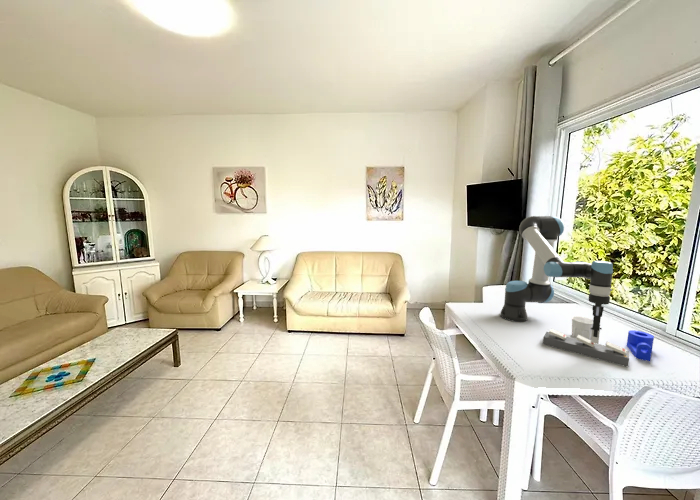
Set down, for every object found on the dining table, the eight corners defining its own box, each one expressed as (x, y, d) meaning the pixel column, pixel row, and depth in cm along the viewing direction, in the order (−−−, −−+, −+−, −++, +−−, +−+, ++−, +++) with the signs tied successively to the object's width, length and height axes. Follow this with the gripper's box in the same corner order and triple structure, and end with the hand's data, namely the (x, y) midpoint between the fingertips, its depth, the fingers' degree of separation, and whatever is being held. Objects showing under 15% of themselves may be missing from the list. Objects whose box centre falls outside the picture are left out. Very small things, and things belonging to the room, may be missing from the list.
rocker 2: (576, 339, 143) (577, 337, 143) (577, 336, 146) (578, 334, 146) (593, 347, 139) (594, 345, 138) (593, 344, 142) (595, 342, 142)
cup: (588, 335, 162) (590, 317, 161) (597, 342, 153) (599, 324, 152) (567, 332, 166) (569, 315, 164) (574, 339, 156) (576, 322, 155)
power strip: (542, 344, 151) (543, 335, 150) (545, 338, 157) (546, 330, 157) (627, 367, 129) (629, 356, 129) (627, 359, 136) (628, 349, 135)
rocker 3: (605, 346, 136) (606, 344, 135) (605, 343, 139) (606, 341, 139) (625, 354, 131) (626, 352, 131) (624, 351, 135) (626, 349, 134)
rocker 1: (548, 333, 150) (549, 330, 150) (550, 330, 154) (551, 328, 153) (564, 340, 146) (565, 337, 146) (566, 337, 149) (567, 335, 149)
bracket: (625, 342, 154) (627, 328, 153) (650, 348, 148) (652, 333, 147) (629, 357, 139) (631, 341, 138) (656, 363, 133) (659, 347, 132)
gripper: (609, 298, 130) (604, 349, 133) (610, 292, 139) (605, 340, 142) (588, 295, 135) (583, 344, 138) (590, 290, 144) (585, 336, 147)
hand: (594, 342), depth 140 cm, fingers closed
